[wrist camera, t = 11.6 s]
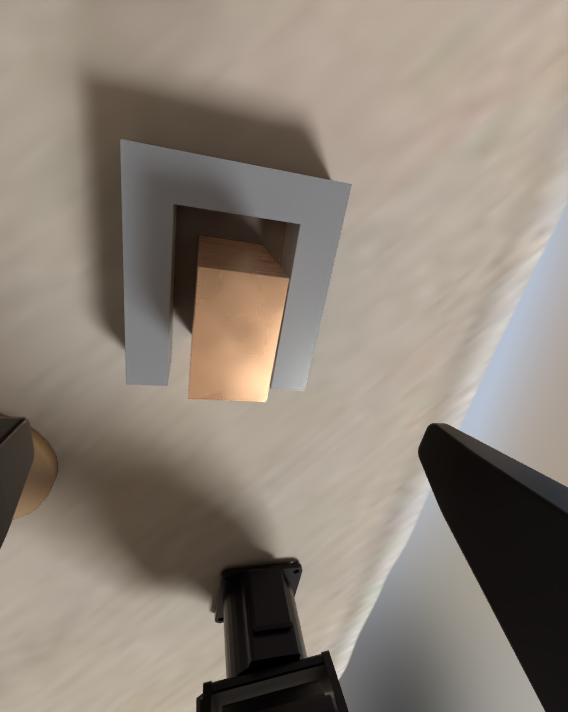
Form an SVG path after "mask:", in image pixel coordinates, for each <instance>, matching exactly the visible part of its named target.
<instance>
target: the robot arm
mask: <svg viewBox="0 0 568 712" xmlns="http://www.w3.org/2000/svg"><path fill="white" fill-rule="evenodd" d="M418 455H419V459H420V461H421V464H422V466H423V469H424V471H425V474H426V476H427V478H428V481H429V483H430V486H431V488H432V491H433V493H434V495H435V498H436V500H437V503H438V505H439V507H440V510H441V512H442V514H443V516H444V518H445V520H446V522H447V524H448V526H449V527H450V530H451V532H452V533H453V535H454V537H455V539H456V541H457V543H458V545H459V547H460V549H461V551H462V553H463V555H464V556H465V558H466V560H467V562H468V564H469V566H470V568H471V570H472V572H473V574H474V576H475V577H476V579H477V581H478V583H479V585H480V587H481V589H482V591H483V593H484V595H485V597H486V599H487V601H488V602H489V604H490V606H491V608H492V610H493V612H494V614H495V616H496V618H497V620H498V622H499V623H500V625H501V627H502V629H503V631H504V633H505V635H506V637H507V639H508V641H509V643H510V645H511V647H512V649H513V650H514V652H515V654H516V656H517V658H518V660H519V662H520V664H521V666H522V668H523V670H524V671H525V673H526V675H527V677H528V679H529V681H530V683H531V685H532V687H533V689H534V691H535V693H536V694H537V696H538V698H539V700H540V702H541V704H542V706H543V708H544V710H545V712H568V487H566V486H564V485H562V484H560V483H558V482H556V481H555V480H553V479H551V478H549V477H547V476H545V475H543V474H541V473H539V472H538V471H536V470H534V469H532V468H530V467H528V466H526V465H524V464H522V463H520V462H518V461H516V460H515V459H513V458H511V457H509V456H507V455H505V454H503V453H501V452H499V451H498V450H496V449H494V448H492V447H490V446H488V445H486V444H484V443H482V442H480V441H479V440H477V439H475V438H473V437H471V436H469V435H467V434H465V433H463V432H461V431H459V430H458V429H456V428H454V427H452V426H450V425H448V424H445V423H432V424H430V425H429V426H428V427H427V429H426V431H425V434H424V436H423V438H422V441H421V443H420V445H419V448H418ZM33 460H34V445H33V439H32V433H31V427H30V423H29V421H28V419H26V418H25V417H2V418H0V548H1V546H2V544H3V542H4V539H5V537H6V535H7V532H8V530H9V527H10V525H11V522H12V519H13V516H14V513H15V511H16V508H17V505H18V502H19V500H20V497H21V494H22V491H23V489H24V486H25V483H26V480H27V477H28V475H29V472H30V469H31V466H32V464H33ZM301 573H302V567H301V564H300V563H289V564H278V565H267V566H255V567H244V568H233V569H225V570H223V571H222V572H221V576H220V583H219V589H218V596H217V603H216V610H215V622H217V623H223V622H224V636H225V656H226V677H227V679H223V680H219V681H216V682H212V681H209V682H205V683H203V693H202V694H201V695H200V696H199V697H198V698H197V700H196V712H348V708H347V705H346V702H345V699H344V696H343V693H342V690H341V687H340V684H339V681H338V677H337V674H336V671H335V668H334V665H333V662H332V659H331V656H330V653H329V650H328V651H324V652H321V654H319V655H315V656H311V657H308V658H307V655H306V650H305V645H304V641H303V636H302V631H301V627H300V622H299V617H298V613H297V608H296V604H295V599H294V597H295V594H296V590H297V587H298V584H299V580H300V577H301Z"/></svg>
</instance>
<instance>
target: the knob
mask: <svg viewBox="0 0 568 712" xmlns="http://www.w3.org/2000/svg"><path fill="white" fill-rule="evenodd" d="M2 417H5V416H1V415H0V418H2ZM31 433H32V439H33V445H34V460H33V464H32V466H31V469H30V472H29V475H28V477H27V480H26V483H25V486H24V489H23V491H22V494H21V497H20V500H19V502H18V505H17V508H16V511H15V513H14V516H13V519H12V520H14V519H17V518H20V517H22V516H24V515H26V514H28V513H30V512H32V511H33V510H35V509H36V508H37V507H39V506H40V505H41V504H42V503H43V501H44V500H45V499H46V497H47V496H48V494H49V492H50V490H51V488H52V486H53V483H54V481H55V479H56V476H57V471H58V463H57V458H56V455H55V453H54V451H53V449H52V448H51V446H50V445H49V443H48V442H47V441H46V440H45V439H44V438H43V437H42V436H41V435H40V434H39V433H37V432H36V431H35V430H33V429H32V428H31Z"/></svg>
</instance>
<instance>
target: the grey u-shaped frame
mask: <svg viewBox="0 0 568 712" xmlns="http://www.w3.org/2000/svg"><path fill="white" fill-rule="evenodd" d="M120 155H121V195H122V236H123V277H124V317H125V358H126V384H131V385H158V386H167V385H168V378H169V372H170V366H171V354H172V327H173V300H174V273H175V246H176V219H177V205H183V206H189V207H195V208H201V209H208V210H214V211H220V212H227V213H233V214H239V215H245V216H252V217H258V218H264V219H271V220H277V221H283V222H287V225H286V231H285V238H284V244H283V250H282V256H281V262H280V267H281V269H282V270H283V271H284V272H285V274H286V275H287V276H288V277H289V283H288V289H287V294H286V299H285V305H284V310H283V315H282V321H281V326H280V331H279V336H278V342H277V347H276V352H275V358H274V363H273V368H272V374H271V379H270V384H269V385H270V388H271V390H293V391H305V388H306V384H307V379H308V375H309V371H310V366H311V362H312V357H313V353H314V348H315V344H316V340H317V335H318V331H319V326H320V322H321V318H322V313H323V309H324V304H325V300H326V295H327V291H328V287H329V282H330V278H331V273H332V269H333V265H334V260H335V256H336V251H337V247H338V242H339V238H340V234H341V229H342V225H343V220H344V216H345V212H346V207H347V203H348V198H349V194H350V189H351V185H352V184H348V183H343V182H338V181H333V180H328V179H322V178H317V177H312V176H307V175H302V174H297V173H292V172H287V171H282V170H277V169H271V168H266V167H261V166H256V165H251V164H246V163H241V162H236V161H231V160H226V159H220V158H215V157H210V156H205V155H200V154H195V153H190V152H185V151H180V150H175V149H169V148H164V147H159V146H154V145H149V144H144V143H139V142H134V141H129V140H124V139H120Z"/></svg>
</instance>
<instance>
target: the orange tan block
mask: <svg viewBox="0 0 568 712" xmlns="http://www.w3.org/2000/svg"><path fill="white" fill-rule="evenodd" d="M288 283H289V277H288V276H287V275H286V274H285V272H284V271H283V270H282V269H281V267H280V266H279V265H278V263H277V262H276V261H275V260H274V258H273V257H272V256H271V255H270V253H269V252H268V251H267V249H266V248H265V247H264V246H263V245H259V244H252V243H246V242H239V241H233V240H226V239H219V238H213V237H206V236H200V235H199V247H198V260H197V273H196V286H195V299H194V313H193V326H192V341H191V358H190V376H189V393H188V399H203V400H230V401H256V402H266V400H267V395H268V390H269V384H270V379H271V374H272V368H273V363H274V358H275V352H276V347H277V342H278V336H279V331H280V326H281V321H282V315H283V310H284V305H285V299H286V294H287V289H288Z"/></svg>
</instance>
